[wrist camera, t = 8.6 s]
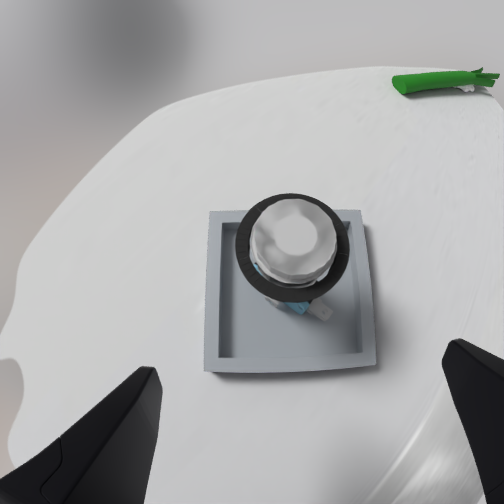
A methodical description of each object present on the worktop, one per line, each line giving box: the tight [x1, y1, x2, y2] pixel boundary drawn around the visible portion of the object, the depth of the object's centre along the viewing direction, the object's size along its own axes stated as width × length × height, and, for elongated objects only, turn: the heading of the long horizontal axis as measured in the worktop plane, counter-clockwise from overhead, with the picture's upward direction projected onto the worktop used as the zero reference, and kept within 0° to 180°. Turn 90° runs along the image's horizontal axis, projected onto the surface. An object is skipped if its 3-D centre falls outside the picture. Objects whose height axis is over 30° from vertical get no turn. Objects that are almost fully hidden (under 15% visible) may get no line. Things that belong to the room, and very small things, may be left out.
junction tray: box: [204, 210, 376, 373], centre depth 21 cm, size 12×12×2 cm
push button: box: [235, 193, 350, 321], centre depth 17 cm, size 7×5×10 cm
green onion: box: [392, 68, 500, 94], centre depth 30 cm, size 5×3×30 cm
